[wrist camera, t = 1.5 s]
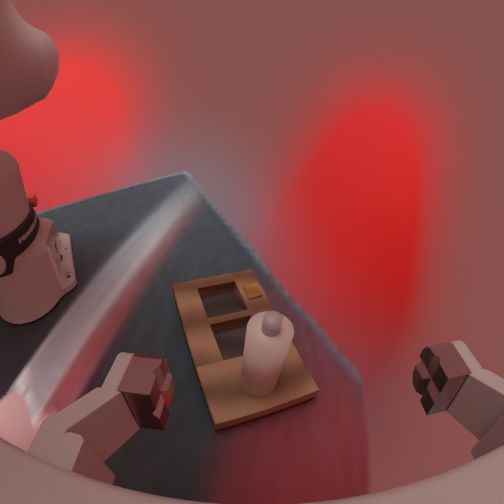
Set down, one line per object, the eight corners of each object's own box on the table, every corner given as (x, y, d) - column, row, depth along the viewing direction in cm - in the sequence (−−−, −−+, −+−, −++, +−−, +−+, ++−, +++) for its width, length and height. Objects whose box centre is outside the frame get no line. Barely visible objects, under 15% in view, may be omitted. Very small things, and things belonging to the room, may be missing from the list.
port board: (173, 295, 43) (172, 281, 41) (250, 280, 47) (251, 267, 45) (215, 430, 28) (215, 423, 26) (313, 398, 32) (319, 388, 30)
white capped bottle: (236, 393, 29) (244, 333, 22) (243, 363, 32) (252, 296, 25) (273, 399, 29) (296, 342, 22) (277, 369, 32) (298, 304, 25)
